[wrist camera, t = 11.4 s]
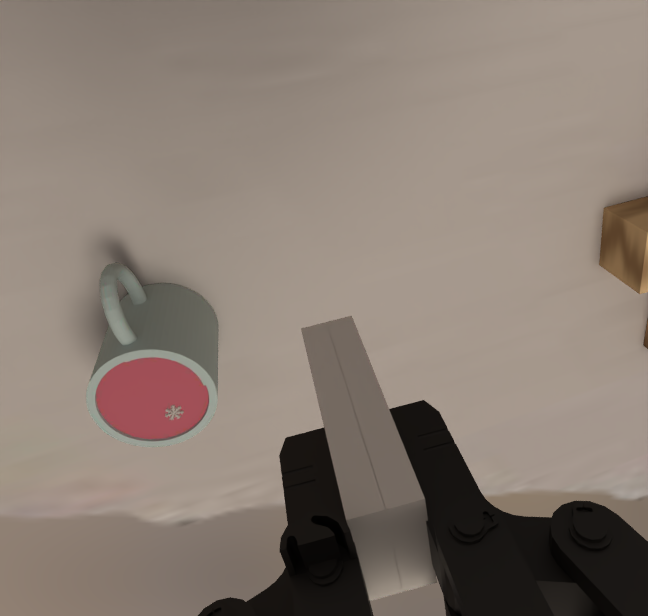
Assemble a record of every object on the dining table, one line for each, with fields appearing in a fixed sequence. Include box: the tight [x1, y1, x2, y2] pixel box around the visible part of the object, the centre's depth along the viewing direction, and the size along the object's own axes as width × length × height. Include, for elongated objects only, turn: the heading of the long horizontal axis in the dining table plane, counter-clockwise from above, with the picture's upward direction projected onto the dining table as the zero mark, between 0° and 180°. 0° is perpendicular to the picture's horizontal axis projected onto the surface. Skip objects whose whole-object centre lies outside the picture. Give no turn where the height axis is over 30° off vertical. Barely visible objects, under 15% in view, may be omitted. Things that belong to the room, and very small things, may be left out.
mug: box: [86, 263, 218, 447], centre depth 43 cm, size 14×9×10 cm
